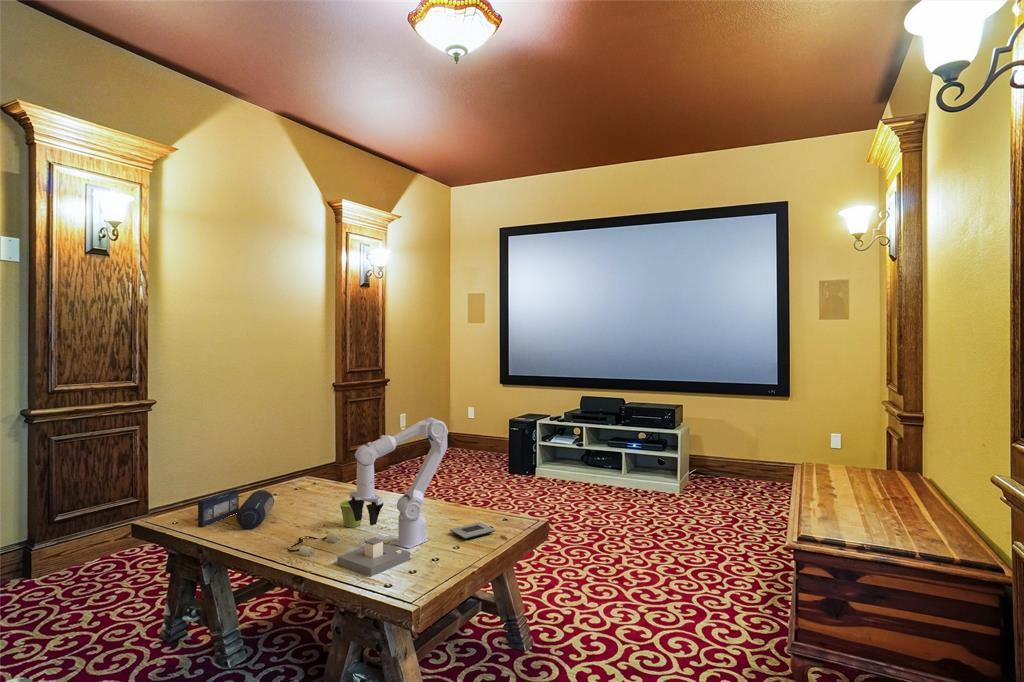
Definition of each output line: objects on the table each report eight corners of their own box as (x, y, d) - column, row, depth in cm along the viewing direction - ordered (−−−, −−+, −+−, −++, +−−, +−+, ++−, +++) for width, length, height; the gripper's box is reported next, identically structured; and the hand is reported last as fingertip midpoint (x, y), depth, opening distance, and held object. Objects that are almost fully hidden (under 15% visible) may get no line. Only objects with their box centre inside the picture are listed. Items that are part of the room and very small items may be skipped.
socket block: (377, 549, 192) (376, 540, 192) (410, 559, 182) (410, 550, 182) (337, 564, 179) (337, 554, 179) (371, 576, 169) (370, 566, 169)
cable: (272, 553, 190) (272, 543, 190) (306, 537, 205) (306, 528, 205) (309, 559, 184) (309, 548, 184) (341, 542, 200) (341, 532, 200)
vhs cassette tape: (202, 527, 215) (202, 501, 215) (196, 527, 216) (196, 501, 216) (240, 513, 233) (239, 489, 232) (234, 513, 233) (234, 488, 233)
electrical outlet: (464, 543, 198) (464, 536, 198) (449, 535, 206) (449, 528, 206) (495, 535, 206) (495, 528, 206) (479, 527, 214) (479, 521, 214)
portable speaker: (263, 530, 212) (262, 503, 212) (234, 532, 210) (233, 505, 210) (276, 510, 236) (275, 486, 236) (250, 512, 234) (250, 488, 234)
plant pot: (339, 523, 219) (339, 500, 219) (364, 520, 222) (364, 498, 222) (339, 530, 211) (339, 507, 210) (365, 528, 213) (365, 504, 213)
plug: (374, 558, 183) (374, 537, 183) (383, 561, 181) (382, 539, 181) (364, 562, 180) (364, 540, 180) (373, 565, 178) (373, 543, 178)
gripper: (342, 481, 191) (342, 521, 191) (370, 487, 183) (370, 529, 183) (358, 477, 197) (359, 516, 197) (387, 483, 189) (387, 524, 189)
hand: (365, 522), depth 190 cm, fingers open, 7 cm apart
